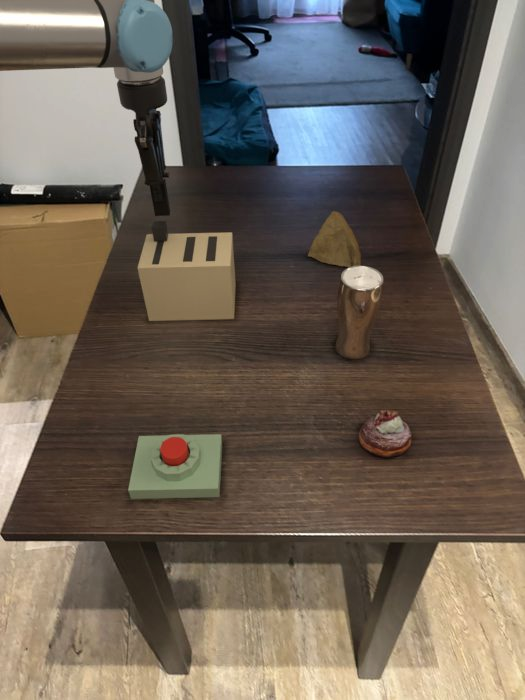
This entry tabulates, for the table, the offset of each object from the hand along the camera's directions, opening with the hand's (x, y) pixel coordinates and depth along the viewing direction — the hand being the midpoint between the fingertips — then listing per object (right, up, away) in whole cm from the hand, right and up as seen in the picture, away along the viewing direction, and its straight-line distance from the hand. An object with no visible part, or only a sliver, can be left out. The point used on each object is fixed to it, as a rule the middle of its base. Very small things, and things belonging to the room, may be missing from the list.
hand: (162, 213), depth 99 cm
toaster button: (0, -5, -2) cm, 5 cm away
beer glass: (+35, -25, -6) cm, 43 cm away
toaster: (+5, -16, +4) cm, 18 cm away
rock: (+34, -7, +13) cm, 37 cm away
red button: (+7, -40, -27) cm, 49 cm away
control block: (+7, -43, -24) cm, 50 cm away
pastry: (+37, -39, -21) cm, 58 cm away
